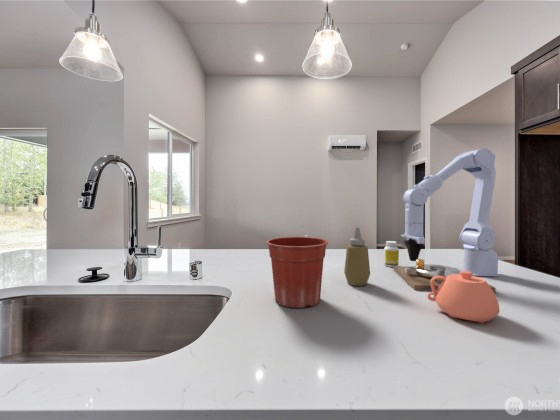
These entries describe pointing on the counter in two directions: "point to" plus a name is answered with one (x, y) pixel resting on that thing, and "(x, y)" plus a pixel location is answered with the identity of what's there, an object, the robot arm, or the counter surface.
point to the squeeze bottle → (357, 261)
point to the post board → (422, 279)
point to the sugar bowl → (465, 297)
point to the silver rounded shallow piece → (431, 269)
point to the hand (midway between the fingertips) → (413, 260)
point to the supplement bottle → (391, 254)
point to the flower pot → (297, 270)
